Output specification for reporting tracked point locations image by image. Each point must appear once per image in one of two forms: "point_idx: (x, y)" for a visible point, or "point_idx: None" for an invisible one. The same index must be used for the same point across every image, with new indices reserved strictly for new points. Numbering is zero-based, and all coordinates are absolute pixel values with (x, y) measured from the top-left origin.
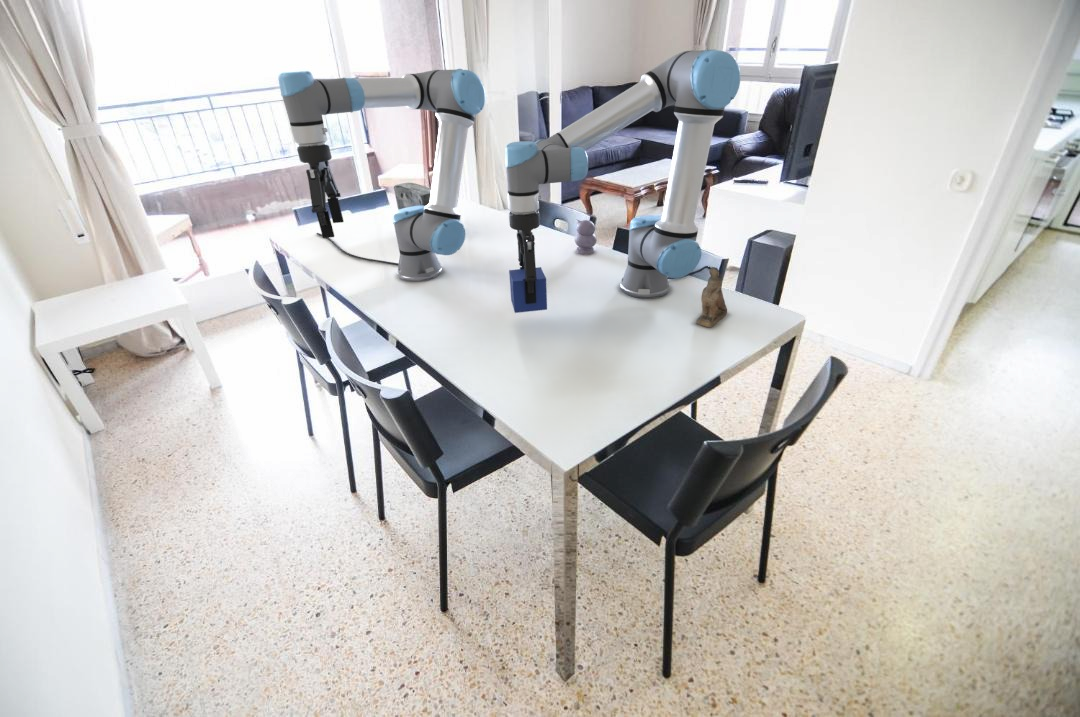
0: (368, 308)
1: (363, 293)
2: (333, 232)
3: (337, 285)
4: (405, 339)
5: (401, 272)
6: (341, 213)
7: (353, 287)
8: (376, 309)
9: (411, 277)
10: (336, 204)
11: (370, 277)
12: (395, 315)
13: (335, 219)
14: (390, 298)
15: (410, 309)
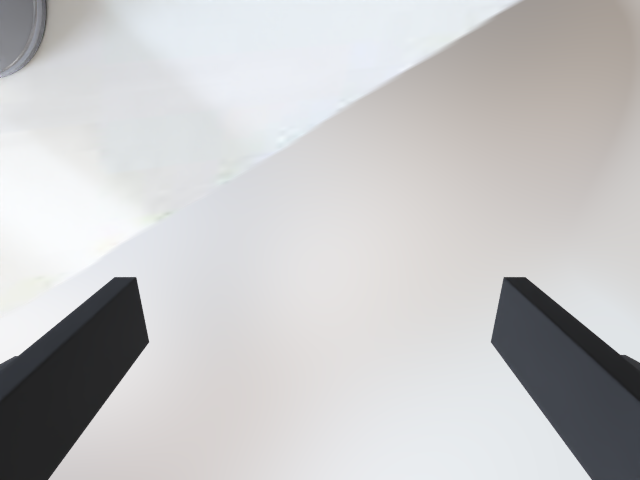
0: (251, 153)
1: (140, 183)
2: (519, 291)
3: (76, 266)
4: (487, 14)
5: (5, 55)
6: (80, 313)
7: (92, 219)
8: (262, 128)
9: (33, 14)
10: (35, 399)
11: (10, 179)
12: (317, 61)
13: (132, 338)
14: (186, 91)
15: (282, 11)
